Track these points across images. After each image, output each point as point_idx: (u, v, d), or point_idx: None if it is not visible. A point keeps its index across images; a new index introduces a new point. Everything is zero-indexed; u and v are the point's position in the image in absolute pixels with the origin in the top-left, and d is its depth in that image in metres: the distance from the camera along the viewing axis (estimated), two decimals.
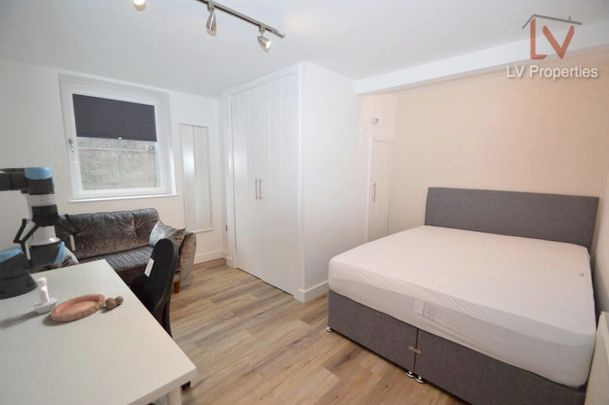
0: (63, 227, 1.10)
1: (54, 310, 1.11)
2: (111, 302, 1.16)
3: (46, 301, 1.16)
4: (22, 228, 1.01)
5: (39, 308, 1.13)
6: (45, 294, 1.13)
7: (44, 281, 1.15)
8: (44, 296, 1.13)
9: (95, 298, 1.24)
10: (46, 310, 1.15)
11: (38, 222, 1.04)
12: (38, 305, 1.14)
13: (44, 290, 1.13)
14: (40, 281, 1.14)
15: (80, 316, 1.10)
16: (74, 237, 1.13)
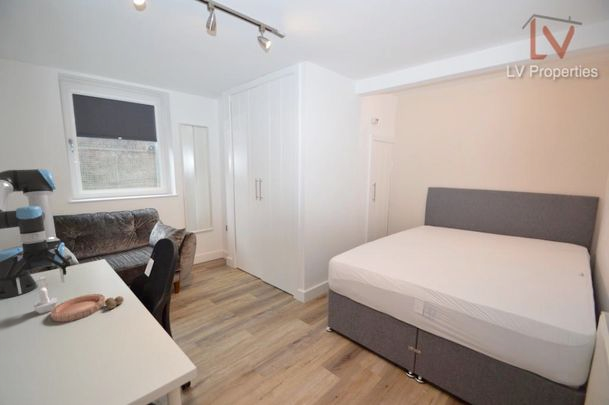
0: (53, 261, 1.16)
1: (54, 310, 1.11)
2: (111, 302, 1.16)
3: (46, 301, 1.16)
4: (13, 265, 1.07)
5: (39, 308, 1.13)
6: (45, 294, 1.13)
7: (44, 281, 1.15)
8: (44, 296, 1.13)
9: (95, 298, 1.24)
10: (46, 310, 1.15)
11: (29, 258, 1.10)
12: (38, 305, 1.14)
13: (44, 290, 1.13)
14: (40, 281, 1.14)
15: (80, 316, 1.10)
16: (63, 270, 1.19)
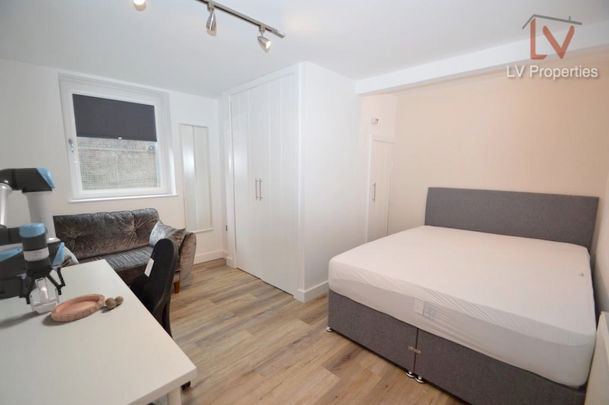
0: (52, 280, 1.17)
1: (54, 310, 1.11)
2: (111, 302, 1.16)
3: (46, 301, 1.16)
4: (21, 284, 1.09)
5: (39, 308, 1.13)
6: (45, 294, 1.13)
7: (44, 281, 1.15)
8: (44, 296, 1.13)
9: (95, 298, 1.24)
10: (46, 310, 1.15)
11: (33, 276, 1.12)
12: (38, 305, 1.14)
13: (44, 290, 1.13)
14: (40, 281, 1.14)
15: (80, 316, 1.10)
16: (59, 291, 1.19)
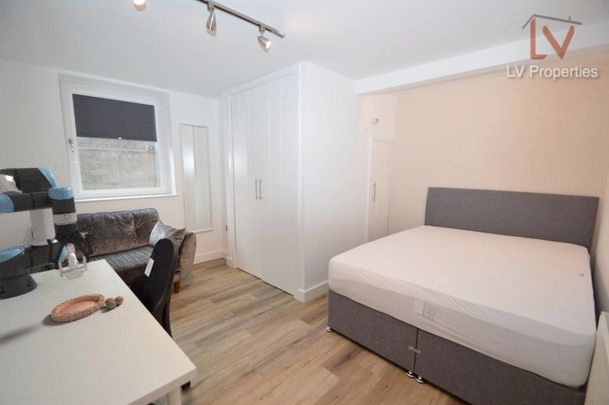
0: (80, 246, 1.14)
1: (54, 310, 1.11)
2: (111, 302, 1.16)
3: (74, 268, 1.13)
4: (50, 248, 1.07)
5: (68, 274, 1.10)
6: (74, 259, 1.10)
7: (72, 247, 1.12)
8: (73, 261, 1.10)
9: (95, 298, 1.24)
10: (74, 277, 1.12)
11: (62, 240, 1.09)
12: (66, 271, 1.11)
13: (73, 255, 1.10)
14: (69, 246, 1.11)
15: (80, 316, 1.10)
16: (86, 258, 1.16)
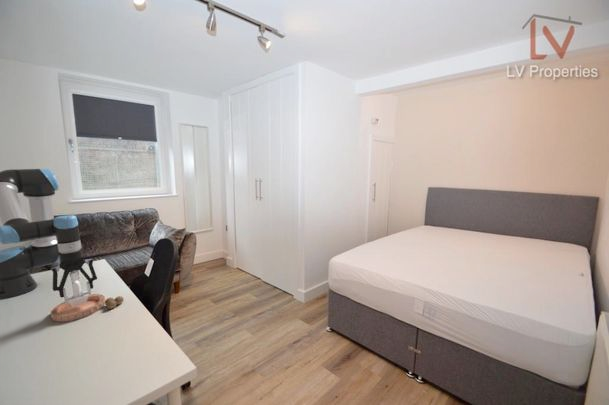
0: (84, 273, 1.16)
1: (54, 310, 1.11)
2: (111, 302, 1.16)
3: (79, 294, 1.15)
4: (55, 276, 1.08)
5: (73, 301, 1.12)
6: (78, 287, 1.12)
7: (77, 274, 1.14)
8: (77, 289, 1.12)
9: (95, 298, 1.24)
10: (79, 303, 1.14)
11: (66, 268, 1.11)
12: (70, 298, 1.13)
13: (77, 283, 1.12)
14: (73, 274, 1.13)
15: (80, 316, 1.10)
16: (90, 284, 1.18)
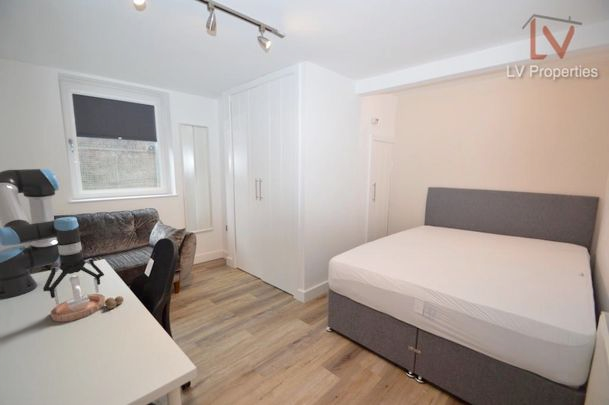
0: (88, 272, 1.17)
1: (54, 310, 1.11)
2: (111, 302, 1.16)
3: (79, 299, 1.15)
4: (51, 276, 1.08)
5: (73, 306, 1.12)
6: (79, 292, 1.12)
7: (77, 279, 1.14)
8: (78, 294, 1.12)
9: (95, 298, 1.24)
10: (79, 308, 1.14)
11: (66, 269, 1.11)
12: (71, 303, 1.13)
13: (78, 288, 1.12)
14: (73, 279, 1.13)
15: (80, 316, 1.10)
16: (97, 280, 1.20)
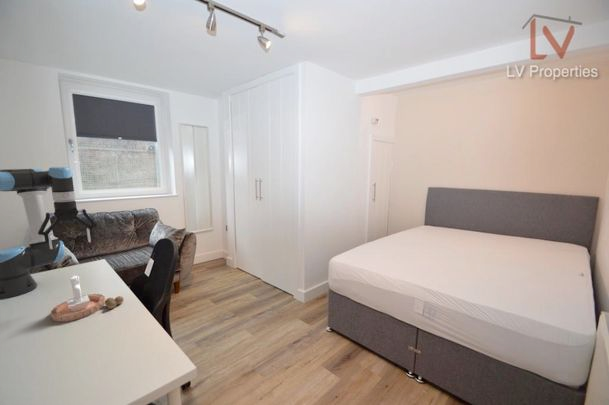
0: (81, 221, 1.23)
1: (54, 310, 1.11)
2: (111, 302, 1.16)
3: (79, 299, 1.15)
4: (46, 221, 1.14)
5: (73, 306, 1.12)
6: (79, 292, 1.12)
7: (77, 279, 1.14)
8: (78, 294, 1.12)
9: (95, 298, 1.24)
10: (79, 308, 1.14)
11: (59, 216, 1.17)
12: (71, 303, 1.13)
13: (78, 288, 1.12)
14: (74, 279, 1.13)
15: (80, 316, 1.10)
16: (90, 230, 1.26)
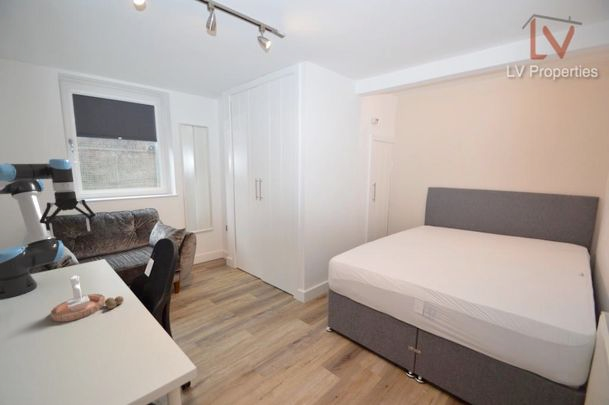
0: (81, 211, 1.28)
1: (54, 310, 1.11)
2: (111, 302, 1.16)
3: (79, 299, 1.15)
4: (47, 210, 1.19)
5: (73, 306, 1.12)
6: (79, 292, 1.12)
7: (77, 279, 1.14)
8: (78, 294, 1.12)
9: (95, 298, 1.24)
10: (79, 308, 1.14)
11: (60, 206, 1.22)
12: (71, 303, 1.13)
13: (78, 288, 1.12)
14: (74, 279, 1.13)
15: (80, 316, 1.10)
16: (89, 220, 1.31)
